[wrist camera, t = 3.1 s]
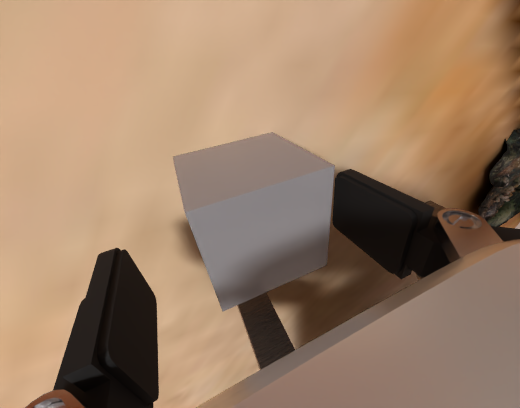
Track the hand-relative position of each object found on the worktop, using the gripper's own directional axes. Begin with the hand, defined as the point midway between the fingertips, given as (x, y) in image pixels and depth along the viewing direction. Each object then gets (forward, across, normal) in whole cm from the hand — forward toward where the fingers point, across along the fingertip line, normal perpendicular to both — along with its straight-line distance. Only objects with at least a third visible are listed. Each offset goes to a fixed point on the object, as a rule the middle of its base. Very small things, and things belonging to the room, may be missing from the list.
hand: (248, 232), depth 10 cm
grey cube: (+3, 0, -1) cm, 3 cm away
